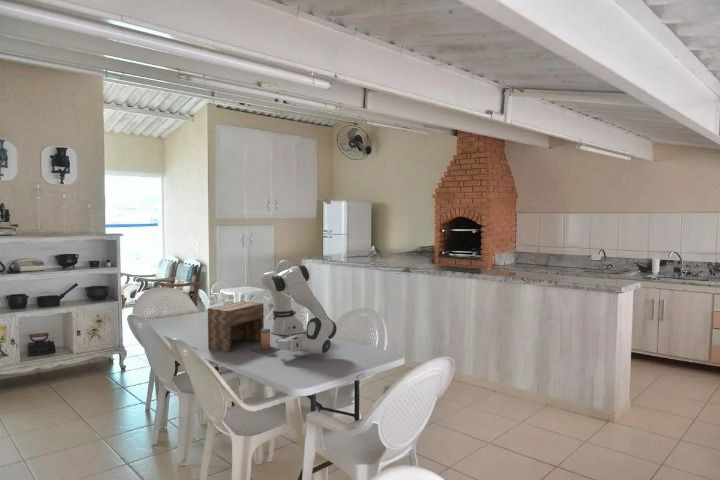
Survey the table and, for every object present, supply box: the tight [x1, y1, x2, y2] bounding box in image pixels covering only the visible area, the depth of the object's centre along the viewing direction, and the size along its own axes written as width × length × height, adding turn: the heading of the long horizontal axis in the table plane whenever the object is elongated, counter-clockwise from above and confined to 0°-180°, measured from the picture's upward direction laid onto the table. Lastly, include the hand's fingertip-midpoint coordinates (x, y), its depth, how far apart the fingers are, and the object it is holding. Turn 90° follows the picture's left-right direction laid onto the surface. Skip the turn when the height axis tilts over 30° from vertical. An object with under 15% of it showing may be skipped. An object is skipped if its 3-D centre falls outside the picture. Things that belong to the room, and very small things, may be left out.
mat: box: [249, 345, 282, 355], centre depth 286 cm, size 12×12×1 cm
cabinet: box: [207, 300, 265, 353], centre depth 296 cm, size 16×28×22 cm, turn 149°
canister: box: [260, 328, 271, 351], centre depth 285 cm, size 5×5×11 cm
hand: (282, 339), depth 279 cm, fingers open, 8 cm apart
